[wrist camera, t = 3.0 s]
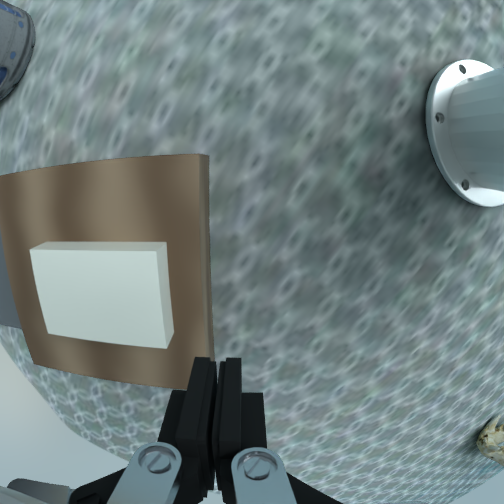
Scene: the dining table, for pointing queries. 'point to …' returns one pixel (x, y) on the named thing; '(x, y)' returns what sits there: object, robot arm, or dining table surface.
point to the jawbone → (492, 441)
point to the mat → (6, 295)
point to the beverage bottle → (14, 45)
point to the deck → (115, 230)
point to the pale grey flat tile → (105, 291)
